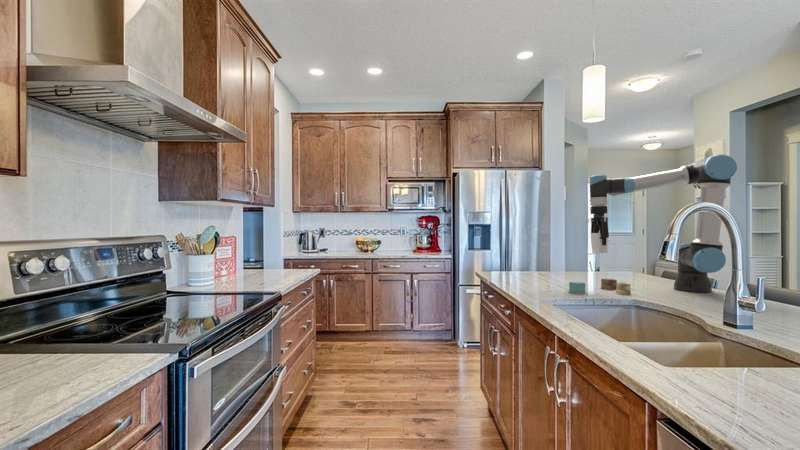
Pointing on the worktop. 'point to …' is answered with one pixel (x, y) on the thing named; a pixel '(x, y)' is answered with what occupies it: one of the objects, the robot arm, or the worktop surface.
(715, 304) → the worktop surface
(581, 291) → the teal painted block
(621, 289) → the maple block
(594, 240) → the white cup
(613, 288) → the walnut block
